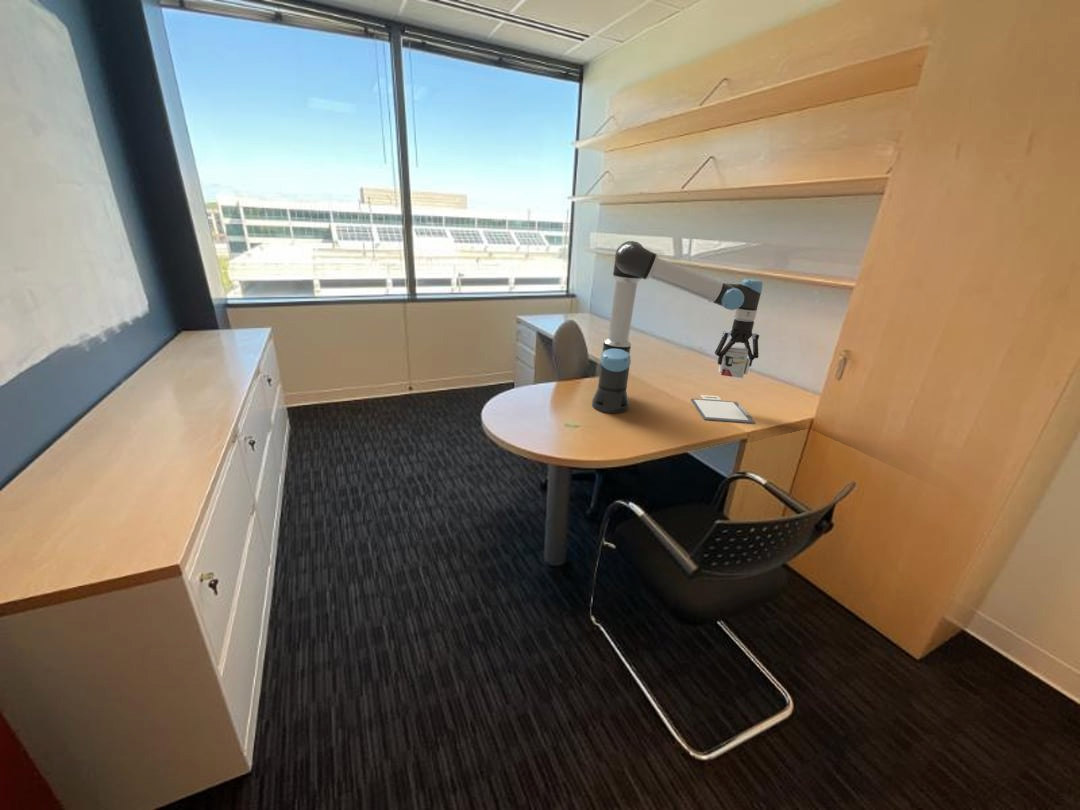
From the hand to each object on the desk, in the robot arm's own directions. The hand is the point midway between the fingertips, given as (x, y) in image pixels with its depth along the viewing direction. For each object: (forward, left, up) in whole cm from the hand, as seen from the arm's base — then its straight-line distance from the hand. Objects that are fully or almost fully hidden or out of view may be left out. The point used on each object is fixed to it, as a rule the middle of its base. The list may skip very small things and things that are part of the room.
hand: (732, 372), depth 185 cm
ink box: (0, 0, -1) cm, 1 cm away
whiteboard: (-3, -5, -16) cm, 17 cm away
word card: (-3, +10, -16) cm, 19 cm away
